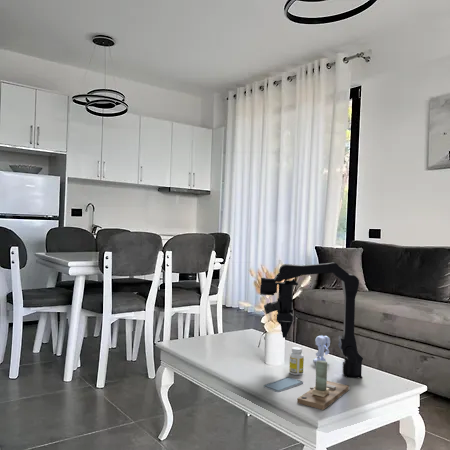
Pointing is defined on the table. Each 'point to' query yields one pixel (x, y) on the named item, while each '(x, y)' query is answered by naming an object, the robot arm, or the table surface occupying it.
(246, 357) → the table surface
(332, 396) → the stepped wooden base
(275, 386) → the smartphone
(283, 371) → the table surface
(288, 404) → the table surface
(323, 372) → the pale green upright block
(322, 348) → the toy figurine
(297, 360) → the supplement bottle
